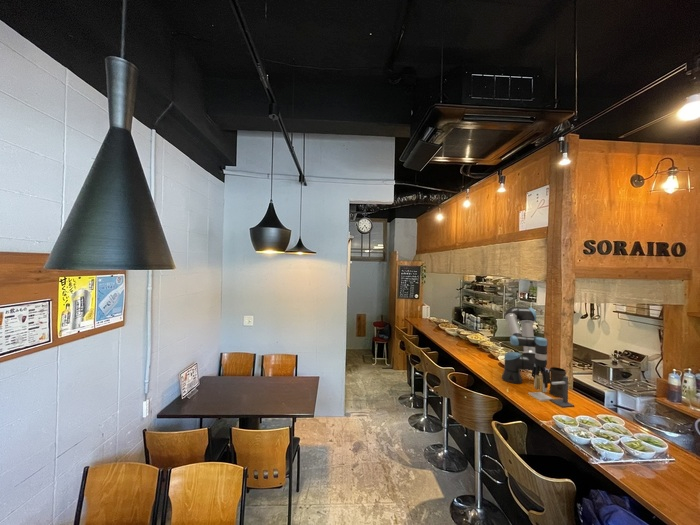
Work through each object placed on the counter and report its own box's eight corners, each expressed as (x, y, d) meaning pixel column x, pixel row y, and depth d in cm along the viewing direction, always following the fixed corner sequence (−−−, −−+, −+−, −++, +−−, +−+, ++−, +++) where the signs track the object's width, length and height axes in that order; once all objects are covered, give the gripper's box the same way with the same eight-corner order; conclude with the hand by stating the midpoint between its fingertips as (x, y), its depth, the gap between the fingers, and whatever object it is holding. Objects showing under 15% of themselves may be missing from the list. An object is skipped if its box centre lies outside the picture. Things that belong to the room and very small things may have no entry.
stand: (546, 401, 207) (546, 375, 207) (561, 399, 209) (561, 374, 209) (558, 408, 197) (558, 380, 197) (574, 406, 199) (574, 379, 199)
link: (534, 388, 216) (535, 374, 216) (538, 388, 216) (538, 374, 216) (542, 393, 209) (542, 378, 209) (546, 392, 209) (546, 377, 209)
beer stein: (570, 399, 210) (569, 371, 212) (553, 397, 213) (553, 370, 214) (559, 391, 225) (558, 365, 227) (544, 389, 228) (543, 364, 229)
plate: (528, 394, 217) (528, 392, 217) (540, 393, 219) (540, 391, 219) (540, 401, 206) (540, 399, 206) (553, 400, 208) (553, 398, 208)
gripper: (526, 354, 222) (525, 384, 222) (548, 363, 202) (547, 395, 202) (534, 354, 223) (533, 383, 223) (557, 363, 204) (556, 395, 203)
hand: (540, 389), depth 213 cm, fingers closed on link, 7 cm apart
